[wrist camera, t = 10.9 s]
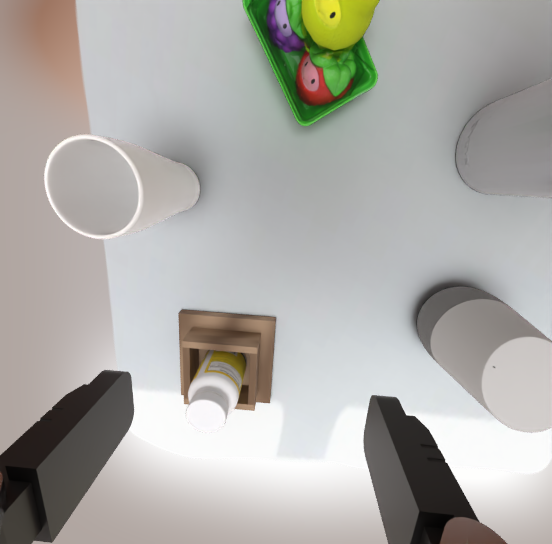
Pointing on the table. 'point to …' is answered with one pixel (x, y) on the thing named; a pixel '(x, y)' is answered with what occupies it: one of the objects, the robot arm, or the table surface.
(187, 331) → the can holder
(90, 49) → the table surface
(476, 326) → the smart speaker
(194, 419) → the supplement bottle
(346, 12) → the fruit basket
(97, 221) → the drinking glass
